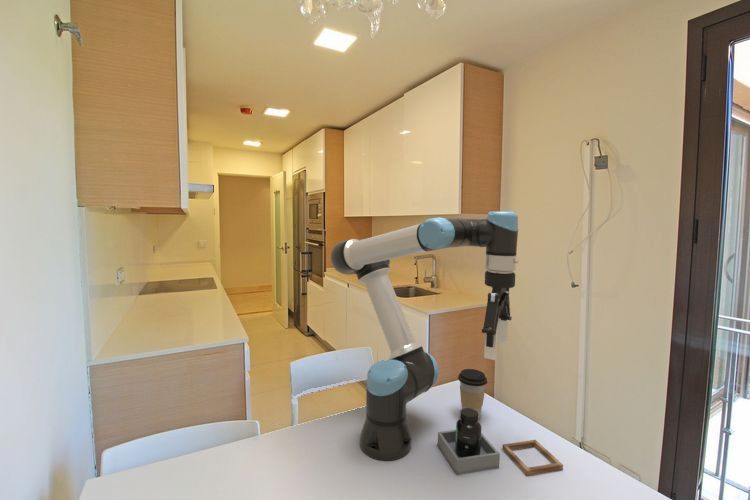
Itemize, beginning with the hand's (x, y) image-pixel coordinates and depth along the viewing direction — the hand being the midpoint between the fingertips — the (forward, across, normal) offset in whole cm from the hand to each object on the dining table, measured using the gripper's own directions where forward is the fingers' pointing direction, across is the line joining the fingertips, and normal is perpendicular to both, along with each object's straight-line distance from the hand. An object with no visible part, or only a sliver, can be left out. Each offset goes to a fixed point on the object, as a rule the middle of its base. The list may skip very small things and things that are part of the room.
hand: (496, 350), depth 94 cm
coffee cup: (+32, +20, +11) cm, 39 cm away
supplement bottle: (+31, -1, +6) cm, 32 cm away
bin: (+32, -1, +6) cm, 32 cm away
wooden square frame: (+32, +8, -9) cm, 34 cm away
